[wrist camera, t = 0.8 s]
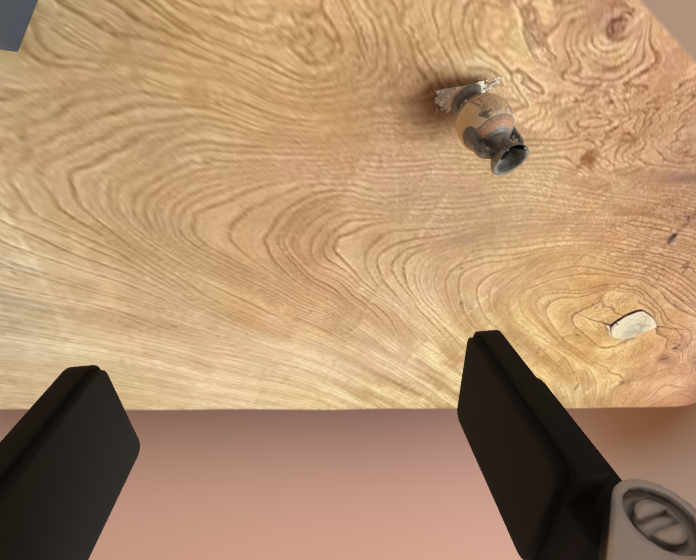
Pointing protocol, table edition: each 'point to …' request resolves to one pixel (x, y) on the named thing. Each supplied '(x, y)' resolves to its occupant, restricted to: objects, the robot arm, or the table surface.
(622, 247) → the table surface
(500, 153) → the vase
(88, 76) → the table surface
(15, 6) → the block
